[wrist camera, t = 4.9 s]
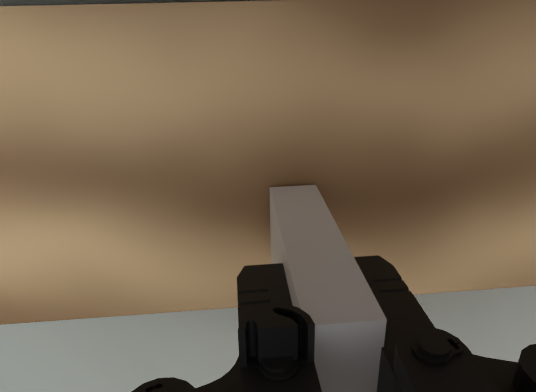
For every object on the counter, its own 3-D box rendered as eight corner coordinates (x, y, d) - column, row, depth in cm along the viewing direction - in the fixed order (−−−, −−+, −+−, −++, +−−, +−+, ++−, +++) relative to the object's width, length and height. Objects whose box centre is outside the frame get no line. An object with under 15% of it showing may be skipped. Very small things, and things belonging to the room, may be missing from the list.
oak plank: (-118, 11, 13) (-176, 9, 11) (641, -6, 14) (702, -9, 13) (-22, 293, 16) (-53, 328, 15) (567, 253, 18) (605, 280, 16)
